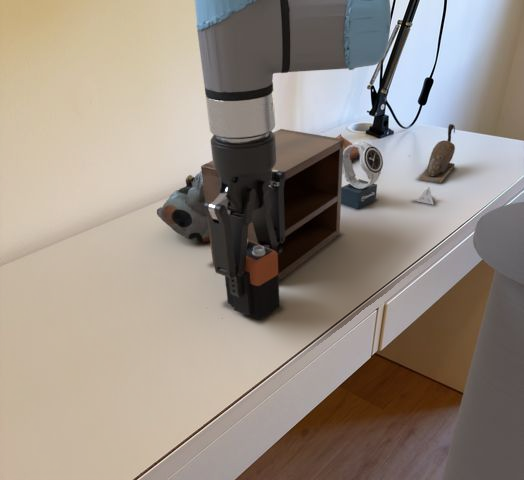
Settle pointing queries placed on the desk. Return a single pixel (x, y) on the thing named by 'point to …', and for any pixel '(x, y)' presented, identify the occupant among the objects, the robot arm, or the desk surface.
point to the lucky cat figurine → (187, 210)
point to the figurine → (440, 160)
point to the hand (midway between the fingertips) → (255, 302)
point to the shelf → (300, 194)
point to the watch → (359, 190)
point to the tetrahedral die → (426, 197)
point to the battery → (260, 279)
